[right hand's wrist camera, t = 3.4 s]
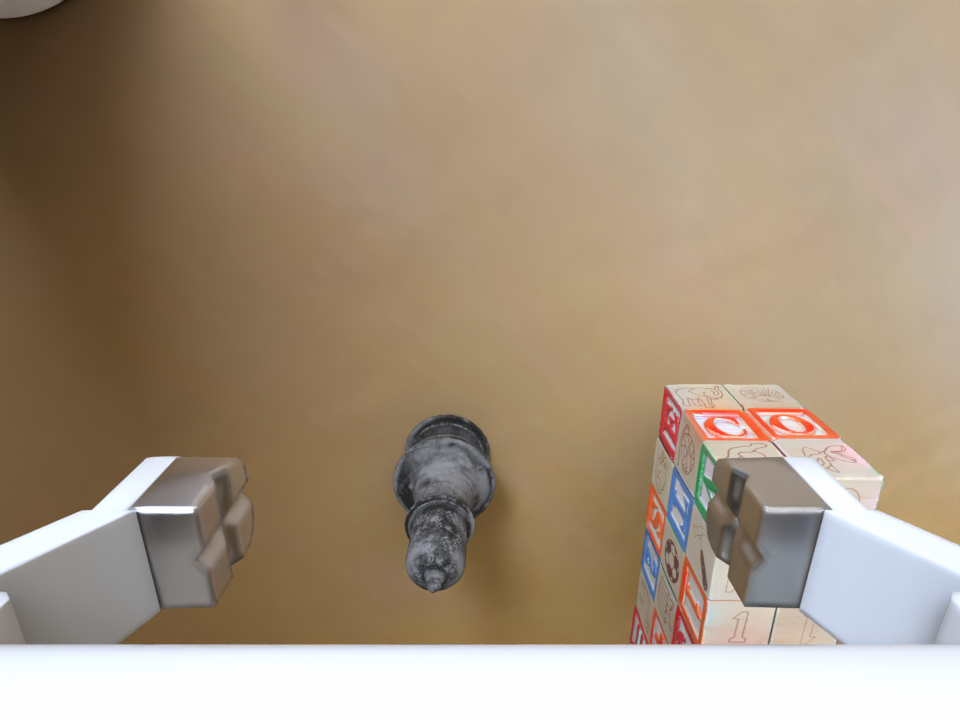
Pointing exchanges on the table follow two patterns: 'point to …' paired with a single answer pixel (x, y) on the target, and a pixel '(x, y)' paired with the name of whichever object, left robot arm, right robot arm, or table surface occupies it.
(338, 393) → the table surface
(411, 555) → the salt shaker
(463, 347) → the table surface
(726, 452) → the stack of blocks
